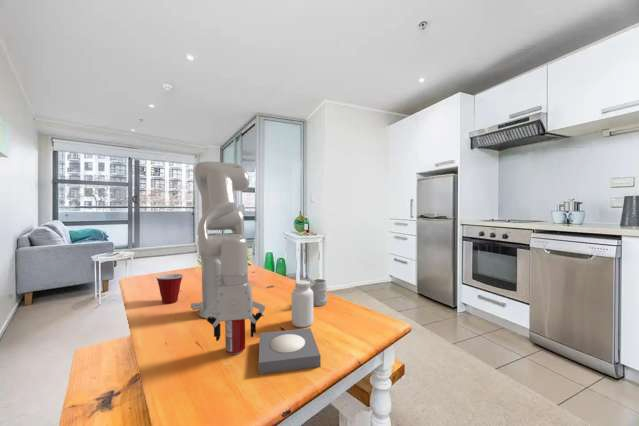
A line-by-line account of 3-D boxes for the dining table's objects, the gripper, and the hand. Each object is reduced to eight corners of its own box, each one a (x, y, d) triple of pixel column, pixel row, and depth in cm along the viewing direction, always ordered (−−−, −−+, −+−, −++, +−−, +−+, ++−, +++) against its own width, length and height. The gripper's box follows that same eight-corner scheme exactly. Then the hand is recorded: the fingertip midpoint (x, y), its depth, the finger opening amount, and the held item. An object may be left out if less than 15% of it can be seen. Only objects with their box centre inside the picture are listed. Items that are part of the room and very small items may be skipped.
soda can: (248, 346, 80) (248, 307, 80) (239, 356, 75) (238, 314, 75) (231, 344, 81) (231, 306, 81) (221, 354, 76) (221, 313, 76)
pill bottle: (316, 319, 99) (316, 280, 98) (308, 329, 91) (308, 286, 91) (297, 317, 101) (296, 278, 101) (287, 326, 94) (287, 284, 93)
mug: (331, 303, 116) (331, 276, 115) (310, 310, 108) (310, 281, 107) (319, 298, 121) (319, 272, 121) (299, 305, 113) (299, 277, 113)
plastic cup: (189, 298, 123) (188, 272, 123) (172, 306, 112) (172, 278, 112) (168, 296, 125) (168, 271, 125) (150, 305, 114) (149, 277, 114)
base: (258, 374, 67) (258, 361, 67) (259, 342, 83) (259, 332, 82) (320, 366, 70) (320, 354, 70) (310, 337, 86) (310, 327, 86)
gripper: (200, 284, 72) (201, 346, 73) (264, 280, 76) (265, 339, 76) (206, 277, 80) (207, 334, 80) (264, 274, 83) (265, 328, 83)
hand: (235, 336), depth 78 cm, fingers open, 9 cm apart
